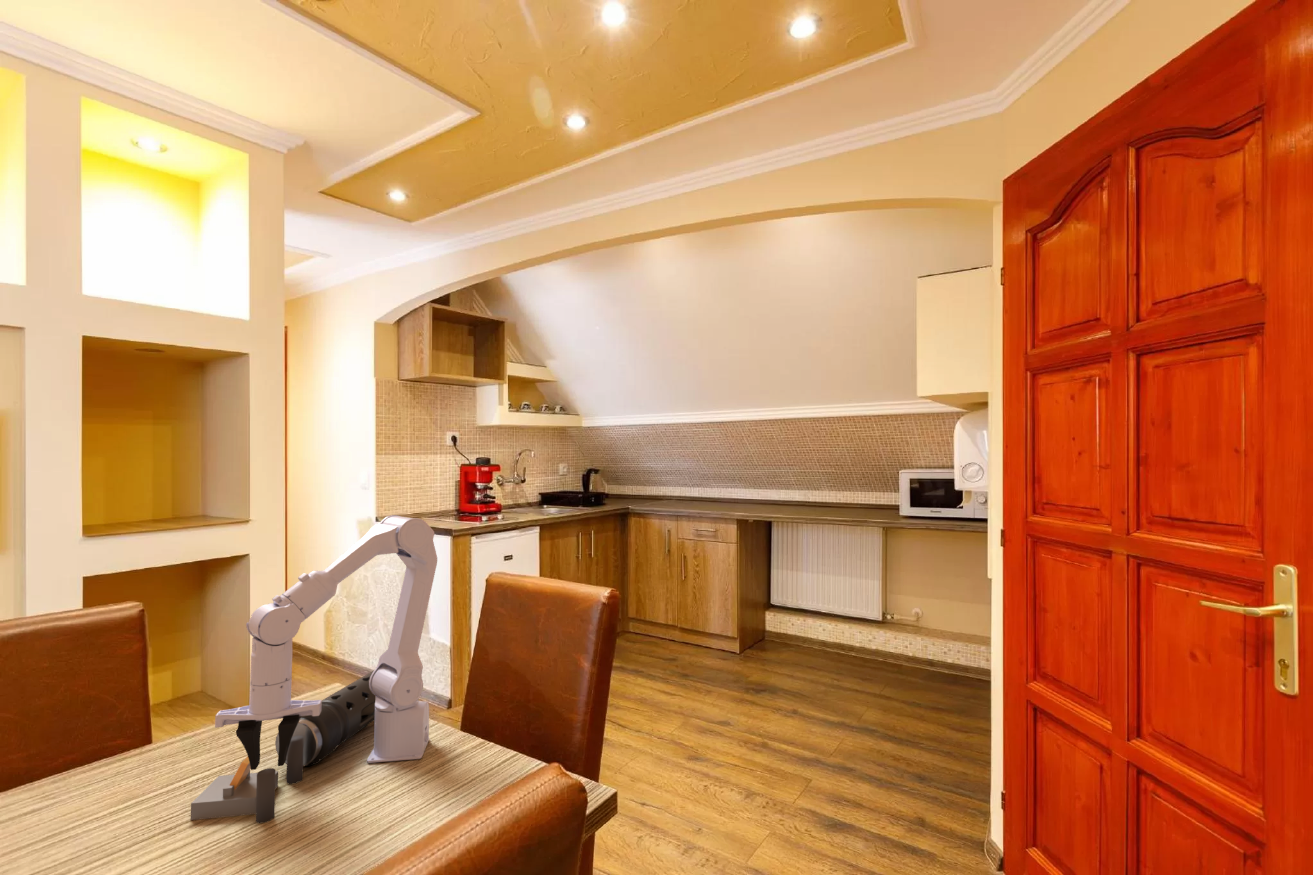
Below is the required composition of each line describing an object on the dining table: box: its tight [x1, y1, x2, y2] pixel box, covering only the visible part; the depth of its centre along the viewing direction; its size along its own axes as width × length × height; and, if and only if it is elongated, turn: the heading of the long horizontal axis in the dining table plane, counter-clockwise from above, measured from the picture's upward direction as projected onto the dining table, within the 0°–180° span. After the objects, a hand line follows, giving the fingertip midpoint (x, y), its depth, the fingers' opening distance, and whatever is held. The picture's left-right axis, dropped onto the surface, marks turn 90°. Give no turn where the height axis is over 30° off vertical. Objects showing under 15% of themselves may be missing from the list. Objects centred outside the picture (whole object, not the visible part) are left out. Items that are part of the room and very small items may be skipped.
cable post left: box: [255, 767, 276, 824], centre depth 92 cm, size 2×2×7 cm
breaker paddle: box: [229, 755, 251, 790], centre depth 97 cm, size 1×4×4 cm, turn 10°
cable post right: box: [285, 736, 304, 785], centre depth 103 cm, size 2×2×7 cm
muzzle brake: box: [275, 670, 375, 767], centre depth 120 cm, size 10×28×10 cm
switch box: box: [190, 770, 279, 821], centre depth 97 cm, size 9×8×4 cm
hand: (268, 764), depth 97 cm, fingers open, 3 cm apart
